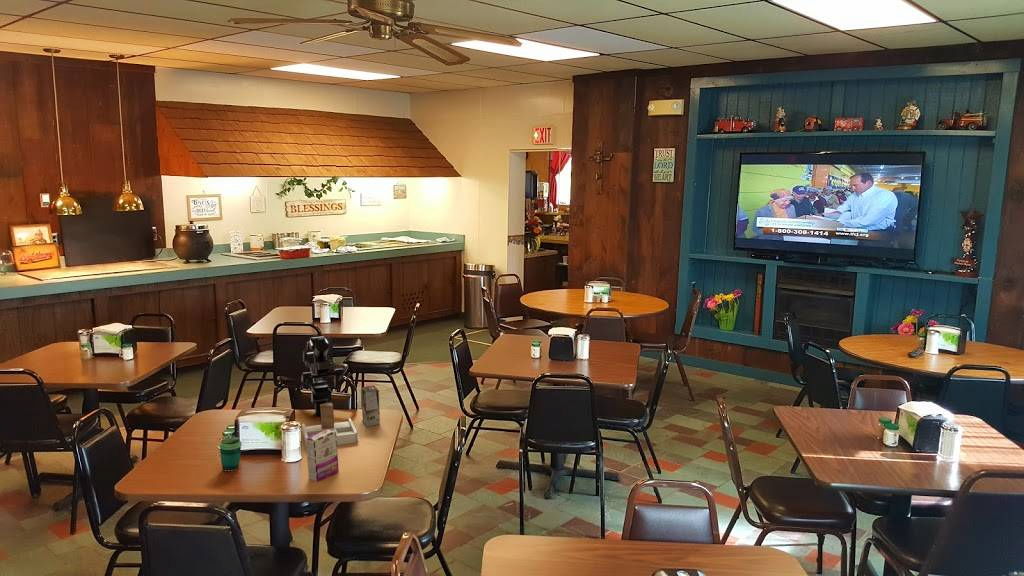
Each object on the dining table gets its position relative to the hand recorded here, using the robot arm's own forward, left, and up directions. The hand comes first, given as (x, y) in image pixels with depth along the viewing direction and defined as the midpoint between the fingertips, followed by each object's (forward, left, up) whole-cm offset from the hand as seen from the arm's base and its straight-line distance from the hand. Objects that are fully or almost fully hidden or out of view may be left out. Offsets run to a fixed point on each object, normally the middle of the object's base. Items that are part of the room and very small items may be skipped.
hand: (325, 392), depth 327 cm
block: (+10, +3, -12) cm, 17 cm away
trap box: (+17, +5, -15) cm, 23 cm away
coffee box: (-2, +20, -15) cm, 25 cm away
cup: (+50, -24, -15) cm, 58 cm away
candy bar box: (+57, +13, -15) cm, 60 cm away
